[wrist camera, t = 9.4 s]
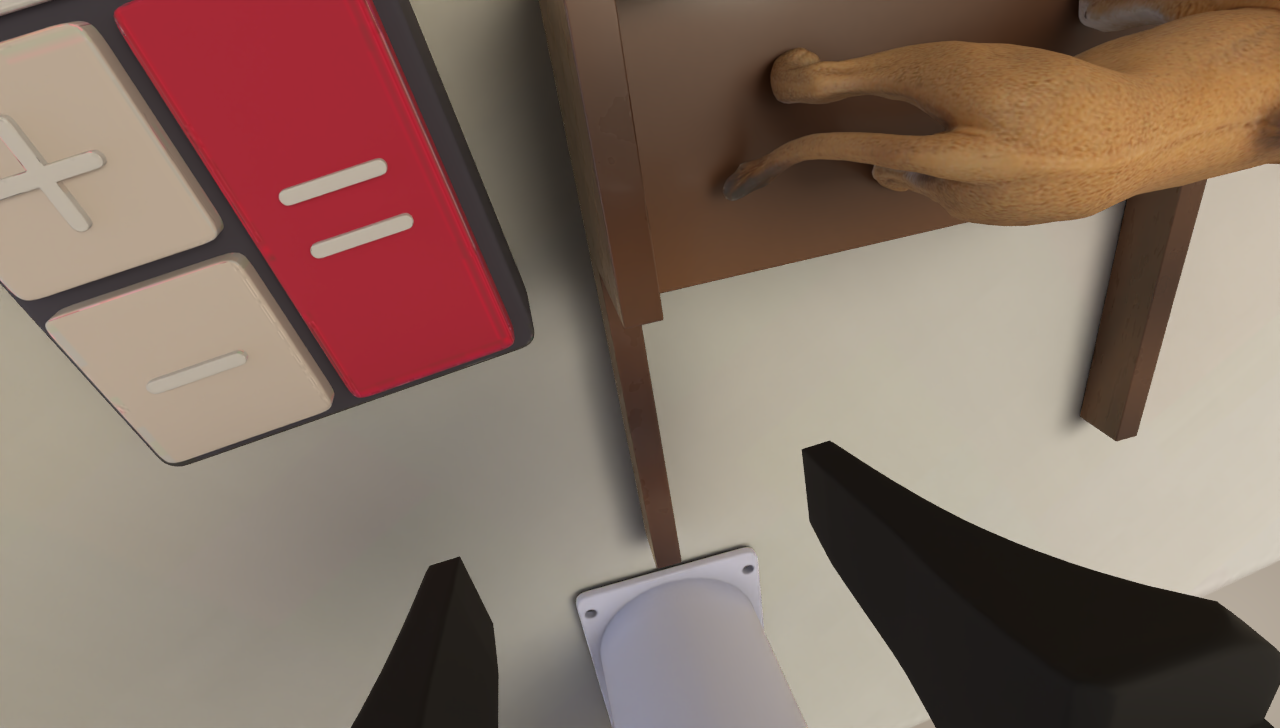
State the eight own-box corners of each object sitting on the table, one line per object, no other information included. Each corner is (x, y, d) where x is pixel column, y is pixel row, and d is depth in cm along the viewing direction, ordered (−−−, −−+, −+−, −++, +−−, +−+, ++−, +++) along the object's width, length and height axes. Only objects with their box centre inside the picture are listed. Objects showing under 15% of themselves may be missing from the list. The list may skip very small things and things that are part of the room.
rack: (1099, 411, 30) (1228, 496, 25) (645, 534, 28) (684, 656, 23) (1233, -159, 20) (1500, -215, 15) (530, -38, 17) (553, -54, 12)
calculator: (158, 492, 18) (-503, -209, 10) (208, 403, 22) (-247, -166, 13) (543, 357, 19) (222, -414, 10) (529, 292, 22) (283, -321, 14)
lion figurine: (1268, -170, 15) (2066, -341, 8) (1242, 66, 18) (1811, 113, 10) (684, 87, 15) (895, 175, 8) (745, 284, 18) (947, 496, 10)
